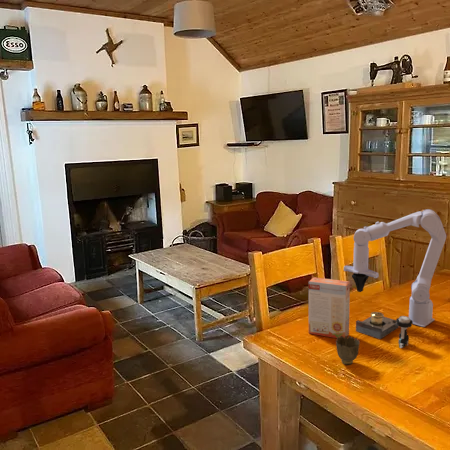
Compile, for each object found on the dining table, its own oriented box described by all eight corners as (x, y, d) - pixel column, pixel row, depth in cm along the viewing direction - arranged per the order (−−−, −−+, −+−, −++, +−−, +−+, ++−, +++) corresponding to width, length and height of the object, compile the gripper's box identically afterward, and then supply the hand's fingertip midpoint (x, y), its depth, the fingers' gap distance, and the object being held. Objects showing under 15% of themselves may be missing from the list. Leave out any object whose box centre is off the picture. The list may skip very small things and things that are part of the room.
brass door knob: (373, 325, 176) (374, 310, 175) (385, 328, 173) (385, 313, 172) (368, 329, 173) (368, 314, 172) (379, 332, 170) (380, 317, 169)
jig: (374, 320, 181) (375, 310, 180) (398, 327, 174) (399, 317, 173) (355, 331, 172) (356, 321, 171) (380, 339, 164) (380, 328, 164)
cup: (355, 371, 144) (355, 347, 142) (332, 365, 147) (332, 342, 146) (361, 360, 150) (362, 338, 148) (339, 355, 154) (340, 333, 152)
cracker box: (349, 334, 169) (350, 280, 165) (345, 340, 164) (346, 285, 160) (313, 327, 176) (313, 276, 172) (308, 333, 171) (308, 280, 167)
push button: (408, 351, 155) (409, 323, 153) (392, 347, 158) (393, 320, 156) (412, 343, 160) (414, 317, 158) (397, 339, 164) (398, 313, 161)
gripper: (339, 257, 184) (339, 289, 187) (372, 264, 173) (371, 298, 176) (349, 254, 188) (348, 285, 191) (381, 260, 178) (380, 293, 181)
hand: (360, 291), depth 184 cm, fingers closed
